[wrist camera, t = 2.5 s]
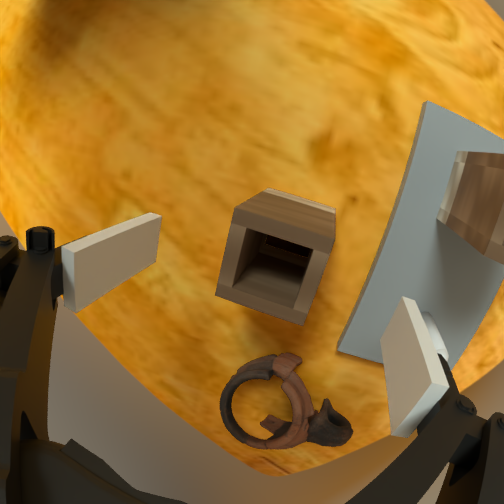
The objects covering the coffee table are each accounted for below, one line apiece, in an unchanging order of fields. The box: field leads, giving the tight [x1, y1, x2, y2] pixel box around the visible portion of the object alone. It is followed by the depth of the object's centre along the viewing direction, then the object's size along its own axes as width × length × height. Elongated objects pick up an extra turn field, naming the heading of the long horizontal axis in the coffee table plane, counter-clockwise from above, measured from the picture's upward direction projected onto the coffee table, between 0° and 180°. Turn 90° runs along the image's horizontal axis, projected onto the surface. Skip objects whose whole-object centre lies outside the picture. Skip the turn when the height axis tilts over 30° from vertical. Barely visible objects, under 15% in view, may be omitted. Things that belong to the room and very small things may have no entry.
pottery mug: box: [220, 353, 353, 449], centre depth 25 cm, size 12×10×8 cm
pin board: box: [337, 101, 504, 371], centre depth 17 cm, size 20×11×7 cm, turn 165°
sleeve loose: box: [215, 188, 335, 326], centre depth 19 cm, size 5×5×8 cm
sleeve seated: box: [436, 151, 504, 265], centre depth 14 cm, size 5×5×8 cm
